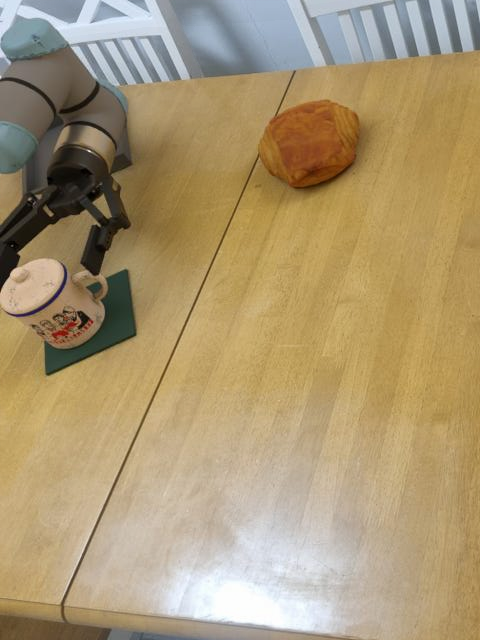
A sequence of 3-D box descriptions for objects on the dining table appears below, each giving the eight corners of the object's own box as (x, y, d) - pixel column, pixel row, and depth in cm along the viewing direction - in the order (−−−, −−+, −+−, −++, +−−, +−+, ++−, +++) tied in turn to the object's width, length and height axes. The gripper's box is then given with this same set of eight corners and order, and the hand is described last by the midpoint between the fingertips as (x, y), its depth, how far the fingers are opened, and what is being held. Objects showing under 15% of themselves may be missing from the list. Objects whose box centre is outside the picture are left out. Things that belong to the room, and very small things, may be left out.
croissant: (275, 151, 116) (245, 112, 110) (362, 110, 113) (336, 68, 107) (277, 212, 108) (244, 175, 102) (371, 170, 105) (343, 129, 99)
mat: (47, 375, 98) (45, 374, 98) (44, 307, 106) (42, 306, 105) (136, 335, 99) (134, 333, 98) (127, 270, 106) (126, 268, 106)
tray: (32, 208, 119) (22, 198, 117) (30, 139, 130) (21, 128, 128) (132, 164, 119) (123, 152, 117) (122, 98, 130) (113, 87, 128)
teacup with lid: (50, 362, 99) (-17, 313, 89) (45, 316, 104) (-19, 264, 94) (131, 322, 100) (73, 269, 90) (122, 278, 105) (67, 223, 95)
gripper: (174, 166, 108) (147, 279, 96) (24, 200, 111) (-19, 312, 100) (143, 126, 101) (110, 241, 90) (-14, 163, 105) (-65, 278, 94)
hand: (42, 279), depth 95 cm, fingers open, 13 cm apart
